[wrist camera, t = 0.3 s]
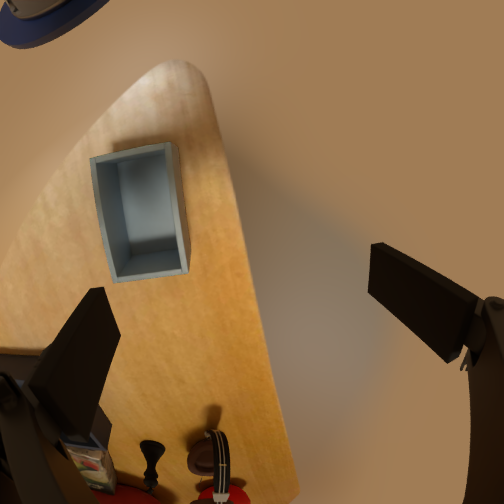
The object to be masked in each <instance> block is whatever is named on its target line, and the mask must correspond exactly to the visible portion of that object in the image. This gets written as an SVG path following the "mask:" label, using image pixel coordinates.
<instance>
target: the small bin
mask: <svg viewBox="0 0 504 504" xmlns="http://www.w3.org/2000/svg"><path fill="white" fill-rule="evenodd" d="M90 166H91V175H92V183H93V190H94V197H95V203H96V209H97V214H98V220H99V225H100V230H101V235H102V240H103V244H104V249H105V253H106V257H107V261H108V265H109V269H110V273H111V277H112V280H113V283H120V282H128V281H136V280H143V279H151V278H159V277H166V276H173V275H181V274H188V273H189V266H190V257H191V245H190V239H189V232H188V225H187V218H186V211H185V203H184V196H183V188H182V179H181V170H180V161H179V151H178V147H177V146H176V145H174V144H173V143H172V142H165V143H158V144H152V145H147V146H142V147H137V148H132V149H127V150H122V151H118V152H113V153H109V154H105V155H101V156H97V157H93V158H90Z"/></svg>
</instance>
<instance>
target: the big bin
mask: <svg viewBox="0 0 504 504" xmlns="http://www.w3.org/2000/svg"><path fill="white" fill-rule="evenodd" d="M38 358H39V356H27V355H11V354H0V370H7V371H9V372H10V373H11V375H12V377H13V378H14V380H15V381H16V383H17V384H18V386H19V387H20V388H21V386H22V385H23V383H24V381H25V379H26V378H27V376H28V374H29V372H30V371H31V369H32V368H33V366H34V364H35V362H36V361H38V360H37V359H38ZM111 428H112V424H111V423H110V421H109V420H108V418H107V417H106V415H105V414H104V412H103V411H102V409H101V408H100V406H99V405H98V407H97V410H96V414H95V418H94V421H93V425H92V429H91V433H90V437H89V441H88V443H85V442H77V441H71V440H70V439H69V438H68V437H67V436H66V435H65V434H64V432H63V431H62V432H61V435H60V439H61V440H62V441H63V443H64V444H65V445H66V446H72V447H78V448H85V449H92V450H101V451H107V447H108V442H109V437H110V432H111Z"/></svg>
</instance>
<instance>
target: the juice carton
mask: <svg viewBox="0 0 504 504" xmlns="http://www.w3.org/2000/svg"><path fill="white" fill-rule="evenodd" d="M65 446H66V445H65ZM66 448H67V450H68V452H69V454H70V455H71V457H72V459H73V461H74V463H75V465H76V466H77V468H78V470H79V472H80V473H81V475H82V477H83V478H84V480H85V481H86V483H87V485H88V486H89V488H90V489H91V490H94V491H98V492H101V493H106V494H108V495H115V489H116V482H117V476H116V473H115V470H114V466H113V464H112V463H113V462H112V461H111V460H112V459H111V458H110V455H109V453H108V449H107V451H101V450H92V449H85V448H78V447H72V446H66Z"/></svg>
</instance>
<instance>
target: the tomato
mask: <svg viewBox="0 0 504 504" xmlns="http://www.w3.org/2000/svg"><path fill="white" fill-rule="evenodd" d="M213 491H214V486H212V487H209V488H207V489H205V490H204V491H203V492H201V494H200V495H199V497H198V499H205V498H213V493H212V492H213ZM228 492H229V494H230V495H229V497H228V499H229V500H231V501H233V503H234V504H250V502H251V501H250V499H249V497H248V496H247V494H246V492H244V491H243V490H242V489H241V488H240V487H237V486H235V485H231V484H230V485H229V490H228Z"/></svg>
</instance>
